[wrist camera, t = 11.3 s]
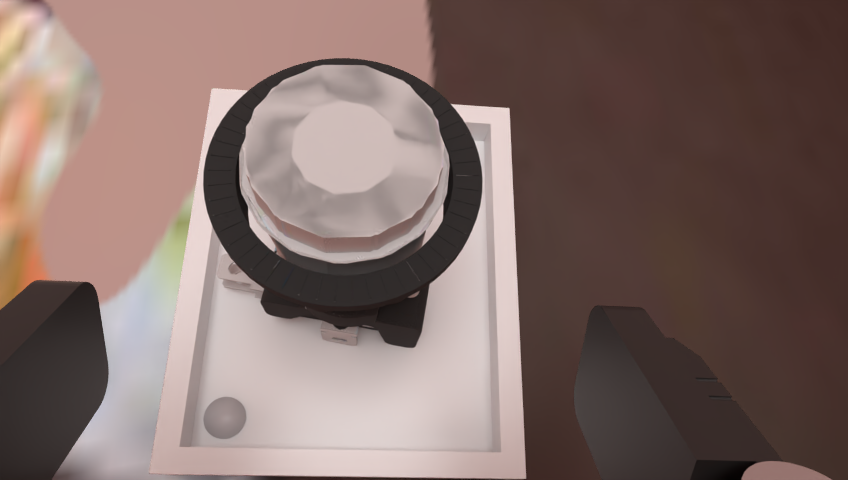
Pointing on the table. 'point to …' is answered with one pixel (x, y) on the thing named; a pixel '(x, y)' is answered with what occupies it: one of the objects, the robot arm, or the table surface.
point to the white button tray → (351, 360)
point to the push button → (342, 195)
